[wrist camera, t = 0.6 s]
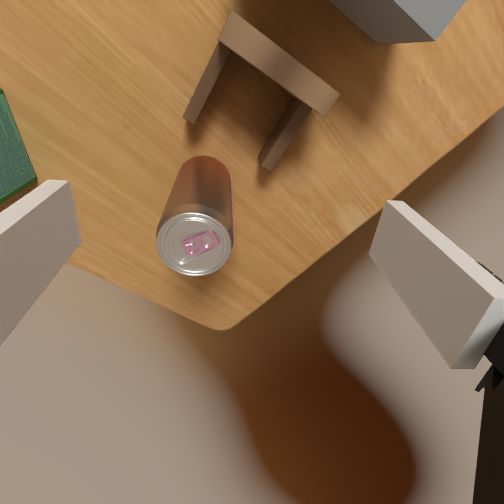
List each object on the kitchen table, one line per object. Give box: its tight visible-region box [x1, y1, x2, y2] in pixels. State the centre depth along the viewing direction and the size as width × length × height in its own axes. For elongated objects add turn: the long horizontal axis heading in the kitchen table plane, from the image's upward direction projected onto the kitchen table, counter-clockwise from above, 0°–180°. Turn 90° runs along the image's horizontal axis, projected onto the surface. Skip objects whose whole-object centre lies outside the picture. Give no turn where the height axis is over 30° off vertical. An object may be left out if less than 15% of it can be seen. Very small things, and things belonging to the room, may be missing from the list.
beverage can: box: [156, 156, 233, 276], centre depth 30 cm, size 6×6×15 cm
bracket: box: [182, 11, 340, 171], centre depth 29 cm, size 10×9×8 cm
